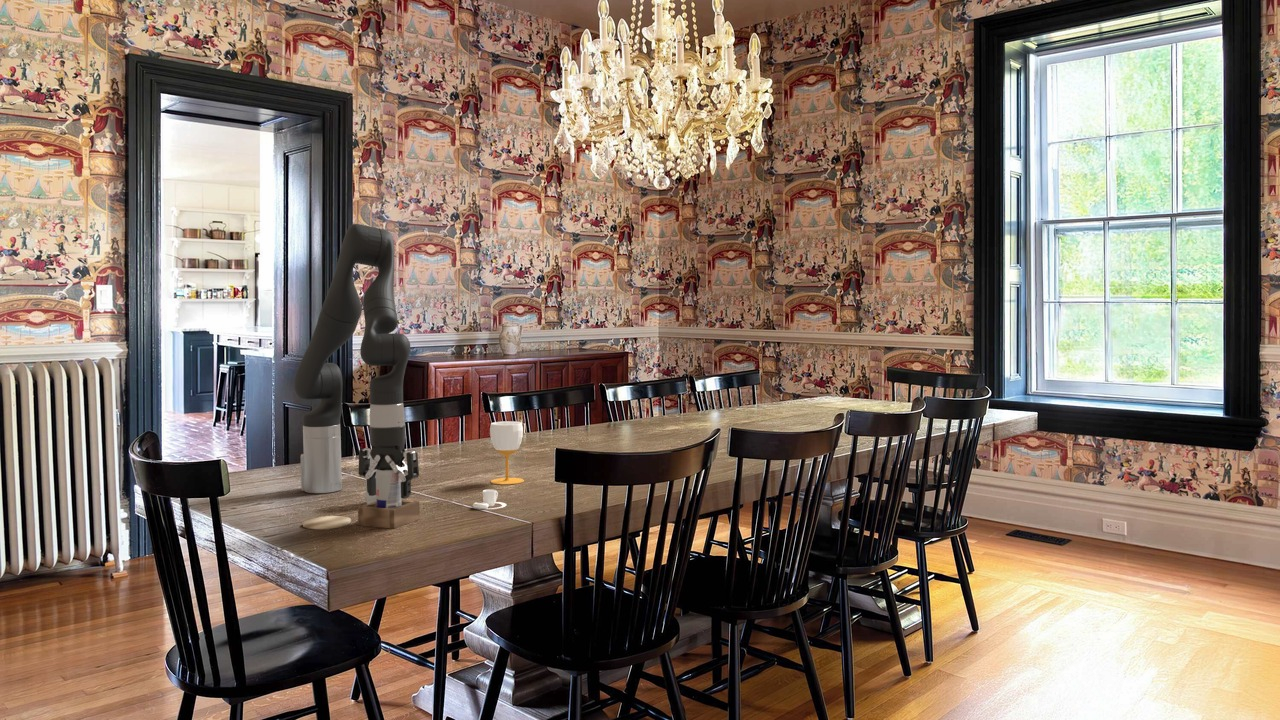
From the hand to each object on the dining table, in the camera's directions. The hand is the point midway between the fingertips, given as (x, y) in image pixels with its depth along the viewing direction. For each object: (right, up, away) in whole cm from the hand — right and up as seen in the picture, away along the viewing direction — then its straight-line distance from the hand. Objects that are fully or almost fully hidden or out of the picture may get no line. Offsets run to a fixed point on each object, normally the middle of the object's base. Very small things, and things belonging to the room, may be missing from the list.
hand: (389, 496), depth 201 cm
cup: (+19, -3, +46) cm, 50 cm away
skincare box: (-8, -5, +20) cm, 22 cm away
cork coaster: (-13, -6, -1) cm, 15 cm away
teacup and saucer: (+16, -5, +16) cm, 24 cm away
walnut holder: (0, -6, 0) cm, 6 cm away
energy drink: (0, -6, 0) cm, 6 cm away
